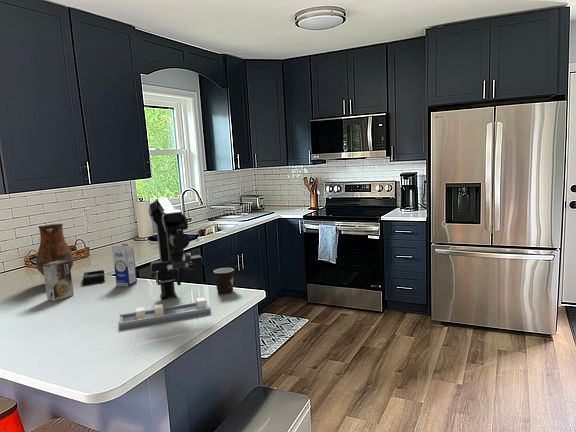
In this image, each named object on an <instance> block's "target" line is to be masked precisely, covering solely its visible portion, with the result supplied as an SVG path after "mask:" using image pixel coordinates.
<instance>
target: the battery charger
mask: <svg viewBox="0 0 576 432" xmlns="http://www.w3.org/2000/svg"><path fill="white" fill-rule="evenodd" d="M82 281H83V286H89V285H95V284H101V283H105V270H104V269H102V270H94V271H87V272H83V276H82Z"/></svg>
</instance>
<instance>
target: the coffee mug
mask: <svg viewBox="0 0 576 432" xmlns="http://www.w3.org/2000/svg"><path fill="white" fill-rule="evenodd" d="M234 270H235V269H234V268H231V267H221V268H217V269H214V270H213V275H214V281H215V286H216V289H217V294H218V295H222V294H224V295H229V294H232V293H234V274H235V273H234V272H235V271H234Z"/></svg>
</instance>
